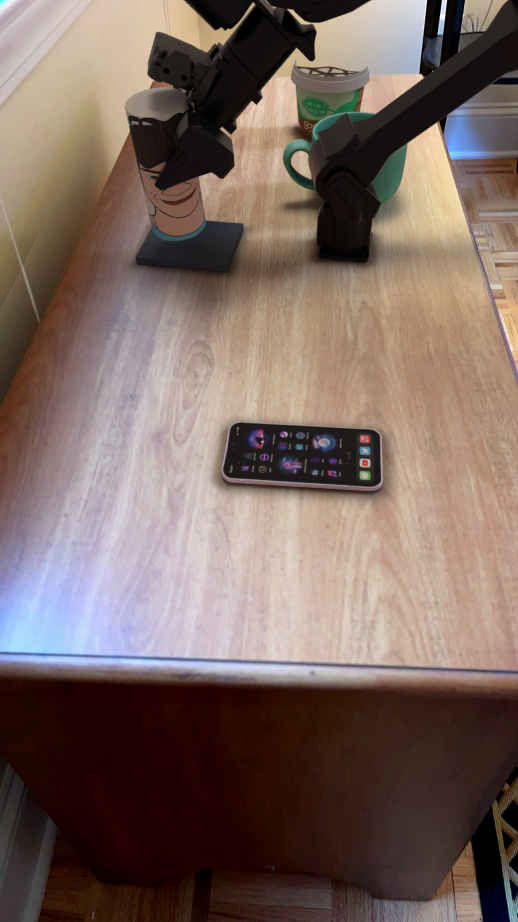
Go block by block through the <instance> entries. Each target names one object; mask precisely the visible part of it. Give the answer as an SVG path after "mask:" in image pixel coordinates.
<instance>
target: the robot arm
mask: <svg viewBox="0 0 518 922" xmlns="http://www.w3.org/2000/svg"><path fill="white" fill-rule="evenodd" d="M183 1H184V3H186V5H188V6H189V7H190V9H192V10H193V11H194V12H195V13H196V14H197V15H198V16H199V17H200V18H201V19H202V20H203V21H204V22H205V23H206V24H208V26H210V28H211V29H212V30H213V31H219V30H220V29H222V30H223V31H224V32H226V31H227V30H232V29H234V28H235V27H236V26H237V27H236V28H235V29H234V30H233V32H232V33H231V34H230V35H229V37H228V38H227V39H226V41H225V42H224V44H222V43H221V42H220V41H218V43H214V44H213V45H212V46H211V47H210V48H209V49H208V51H205V50H203V49H200V48H198V47H197V46H195V45H193V44H191V43H189V42H187V41H185V40H182V39H179V38H177V37H175V36H173V35H170V34H167V33H165V32H161V31H156V32H155V34H154V38H153V40H152V41H153V42H152V46H151V49H150V53H149V56H148V60H147V72H146V74H147V76H148V77H149V78H150V79H151V80H153V81H155V82H157V83H165V84H167V85H170V86H172V88H174V89H178V90H180V91H182V92H184V93H185V95H186V96H187V102H188V109H189V112H187V113H186V115H185V116H184V117H183V118H182V120H181V121H180V123H179V125H178V127H177V126H176V125H174V141H175V147H174V149H173V151H172V152H171V154H170V156H169V158H168V160H167V161H166V163H165V165H164V167H163V168H162V170H161V172H160V174H159V176H158V177H157V179H156V181H155V187H157V188H158V189H159V190H161V191H163V190H165V189H168V188H170V187H173V186H175V185H178V184H180V183H183V182H185V181H188V180H191V179H193V178H196V177H199V178H200V177H202V176H205V175H208V174H213V175H214V176H216V177H217V178H218V179H220V180H224V179H225V178H226V177H227V176H228V175H229V174H230V172H231V171H232V170H233V169H234V168H235V166H236V164H235V152H234V144H233V139H232V138H231V137H230V136H232V135H233V134H234V133H235V131H236V130H237V129H238V125H237V119H239V117H240V116H241V115H242V114H243V113H244V111H245V110H246V109H247V108H248V107H249V106H250V104H251V103H253V104H255V106H258V105H259V103H260V102H261V100H262V99H263V98H264V97H263V93H262V92H263V91H262V90H263V89H264V87H265V86H267V84H268V83H269V82H270V81H271V79H272V78H273V77H274V76H275V74H277V72H278V71H279V70H280V69H281V68H282V66H283V65H284V64H285V63H286V61H288V59H289V58H290V57H291V56H292V55H293V53H294V52H295V51H296V50H298V51H299V52H300V53H301V54H302V55H303V56H304V57H305V58H306V59H307V60H308V61H309V62H310V63H311V62H314V61H315V60H316V38H317V33H318V31H317V28H316V26H315V24H320V23H321V24H322V23H324V22H328V21H330V20H333V19H335V18H339V17H341V16H345V15H348V14H351V13H353V12H354V11H356V10H358V9H359V8H361V7H363V6H364V5H366V4H368V3H369V2H371V1H372V0H183ZM251 6H252V7H251ZM250 7H251V9H250ZM249 9H250V10H249ZM290 10H292V11H293V12H294V13H295V14H296V15H297V16H298V17H299V18H300V19H302V20H303V21H304V22H306V23H305V24H304V23H301V22H300V21H299V20H298V19H297V18H296V16H294V15H293V14H292V13H291V11H290ZM246 13H247V14H246ZM307 23H308V24H307ZM517 71H518V0H506V1H505V2H504V3H503V4H502V5H501V7H500V8H499V10H498V11H497V13H496V15H495V16H494V18H493V19H492V21H491V22H490V24H489V25H488V26H487V28H486V30H485V31H484V32H482V34H481V35H480V36H478V37H477V38H475V39H474V40H473V41H471V42H470V43H469V44H467V45H466V46H465V47H464V48H462V49H461V50H459V51H458V52H457V53H455V54H454V55H452V56H451V57H449V58H448V59H447V60H446V61H444V62H443V63H442V64H441V65H439V66H438V67H436V68H435V69H434V70H433V71H431V72H430V73H428V74H427V75H426V76H424V77H423V78H422V79H420V80H419V81H418V82H416V83H415V84H413V85H412V86H410V88H408V89H407V90H406V91H404V92H403V93H402V94H400V95H399V96H397V97H396V98H395V99H393V100H392V101H391V102H390V103H388V104H387V105H385V106H384V107H383V108H381V109H380V110H379V111H377V112H376V113H375V115H373V116H372V117H370V118H368V119H365V120H360V121H356V122H352V121H351V119H350V117H349V114H348V113H345V114H344V115H342V116H341V117H340V118H339V119H338V120H337V121H336V122H335V123H334V124H333V125H332V126H330V127H329V128H327V129H325V130H322V131H319V132H318V136H319V138H318V139H317V140H316V141H315V142H314V143H313V145H312V146H311V148H310V152H309V156H307V157H308V158H307V163H308V169H309V171H310V176H311V175H312V178H311V179H313V182H314V186H315V189H316V191H317V192H316V191H315V192H316V193H317V196H318V197H319V198H320V199H321V200H322V201H323V203H322V205H321V206H320V207H319V210H318V213H317V218H316V219H317V220H316V237H315V238H316V239H315V240H316V241H315V242H316V243H315V244H316V246H318V247H319V248H318V251H317V257H318V258H320V259H329V260H330V259H331V260H341V261H353V262H362V263H363V262H364V263H366V262H369V261H370V255H371V248H372V242H373V236H374V234H373V226H374V225H373V223H374V219H375V217H377V216H376V215H377V213H378V211H379V209H380V207H381V206H382V205H381V203H380V200H379V198H378V195H377V193H376V190H375V188H374V185H373V183H372V182H373V181H374V180H375V178H376V177H377V175H378V174H379V172H380V171H381V169H382V168H383V166H384V165H385V163H386V162H387V160H388V159H389V157H390V156H391V155H392V154H394V153H395V152H396V151H398V150H399V149H401V148H402V147H403V146H405V145H406V144H409V143H410V142H412V141H414V139H417V138H418V137H419V136H420V135H422V134H423V133H425V132H426V131H428V129H430V128H432V127H433V126H434V125H436V124H437V123H438V122H440V121H441V120H443V119H444V118H446V117H447V116H448V115H450V114H451V113H453V112H455V111H456V110H457V109H458V108H460V107H461V106H462V105H464V104H465V103H467V102H468V101H470V100H471V99H472V98H474V97H475V96H476V95H479V94H480V93H481V92H482V91H484V90H485V89H487V88H489V86H491V85H493V84H494V83H496V81H498V80H499V79H501V78H502V77H503V76H505V75H507V74H509V73H513V72H517ZM222 128H223V130H225V131H226V132H227V133H228V134H229V135H230V136H228V134H227V133H225V132H224V131H223V130H222Z"/></svg>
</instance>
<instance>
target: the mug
mask: <svg viewBox="0 0 518 922" xmlns="http://www.w3.org/2000/svg"><path fill="white" fill-rule="evenodd" d="M346 113H348V114H349V117H350V119H351V121H352V122H356V121H360V120H365V119H368V118H370V117H372V116H373V115H375V114H376V113H375V112H368V111H366V112H365V111H360V112H346ZM344 114H345V113H339V114H335V115H331V116H328V117H326V118H324V119H322V120H321V121H319V122H318V123H317V124H316V125H315V126H314V128H313V131H312V141H311V143H310V142H309V141H308V140H305V139H300V138H299V139H294V140H292V141H290V142H289V143H288V144H287V145H286V146H285V148H284V150H283V154H282V162H283V165H284V168H285V170H286V172H287V174H288V176H289V177H290V178H291V179H292V181H293V182H294V183H296V184H297V185H298V186H300V187H302V188H304V189H306V190H309V191H313V192H316V193H317V191H316V189H315V186H314V182H313V179H312V175H311V174H310V176H311V178H309V177H307V176H305V175H303V174H301V173H300V172H299V171H298V170H296V169H295V167H294V166H293V164H292V158H293V157H294V155H295V154H296V153H298V152H304V153H306V154H307V157H309V152H310V148H311V146H312V145H313V143H314V142H315V141H316V140H317V139H318V138H319V136H318V132H319V131H322V130H325V129H327V128H329V127H330V126H332V125H333V124H334V123H335V122H336V121H337V120H338V119H339V118H340V117H341V116H342V115H344ZM408 144H409V143H408ZM408 144H406V145H405V146H403V147H402V148H401V149H399V150H398V151H396V152H395V153H394V154H392V155H391V156H390V157H389V159H388V160H387V162H386V163H385V165H384V166H383V168H382V169H381V171H380V172H379V174H378V175H377V177H376V178H375V180H374V181H373V182H372V183H373V185H374V188H375V190H376V193H377V195H378V198H379V200H380V203H381V205H380V206H382V205H384V204H386V203H388V202H389V201H390V200H391V199H392V198H393V197H394V196H395V194H397V192H398V190H399V188H400V186H401V183H402V180H403V175H404V172H405V171H404V170H405V165H406V159H407V152H408V147H409V146H408Z"/></svg>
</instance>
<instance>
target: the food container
mask: <svg viewBox="0 0 518 922" xmlns="http://www.w3.org/2000/svg"><path fill="white" fill-rule="evenodd" d="M290 80H291V82H292V83H293V84H294V86H295V97H296V108H297V109H296V110H297V121H298V123H297V124H298V131H299V134H300V135H301V136H302V137H303V138H304V139H306V140H307V141H311V142H312V131H313V128H314V126H315V125H316V124H317V123H318V122H319V121H321V120H322V119H324V118H326V117H328V116H331V115H335V114H339V113H346V112H361V108H362V102H363V98H364V97H363V96H364V92H365V87H366V85H368V84H369V82H370V81H371V78H370V70H369V66H368V65H366V67H364V69H362V70H359V71H358V70H347V69H344V68H340V67H335V66H331V65H330V66H329V65H327V66H317V67H315V66H314V67H313V66H312V67H311V66H301V65H297V59H295V60H294V63H293V64H292V68H291V73H290Z"/></svg>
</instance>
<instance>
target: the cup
mask: <svg viewBox="0 0 518 922" xmlns="http://www.w3.org/2000/svg"><path fill="white" fill-rule="evenodd" d="M124 110H125V115H126V119H127V123H128V128H129V132H130V138H131V142H132V147H133V151H134V155H135V160H136V164H137V168H138V169H137V170H138V174H139V177H140V182H141V187H142V191H143V196H144V199H145V204H146V208H147V213H148V217H149V222H150V226H151V228H152V230H153V232H154V234H155V235H156V236H157V237H159V238H161V239H164V240H168V241H181V240H186V239H189V238H192V237H194V236H196V235H198V234H199V233H200V232H201V231H202V230H203V229H204V227H205V225H206V221H207V220H206V214H205V208H204V201H203V193H202V187H201V182H200V176H199V177H196V178H193V179H191V180H188V181H185V182H183V183H180V184H178V185H175V186H173V187H170V188H168V189H165V190H163V191H161V190H159V189H158V188H157V187H155V181H156V179H157V177H158V176H159V174H160V172H161V170H162V168H163V167H164V165H165V163H166V161H167V160H168V158H169V156H170V154H171V152H172V151H173V149H174V147H175V141H174V125H176V126H177V127H178V125H179V123H180V121H181V120H182V118H183V117H184V116H185V115H186V113H187V112H189V109H188V102H187V96H186V95H185V93H184V92H182V91H180V90H178V89H174V88H173V87H168V86H167V87H165V86H160V87H152V88H146V89H144V90H141V91H139V92H136V93H134V94H133V95H131V96H130V97H129V98H127V100H126V101H125V103H124Z"/></svg>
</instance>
